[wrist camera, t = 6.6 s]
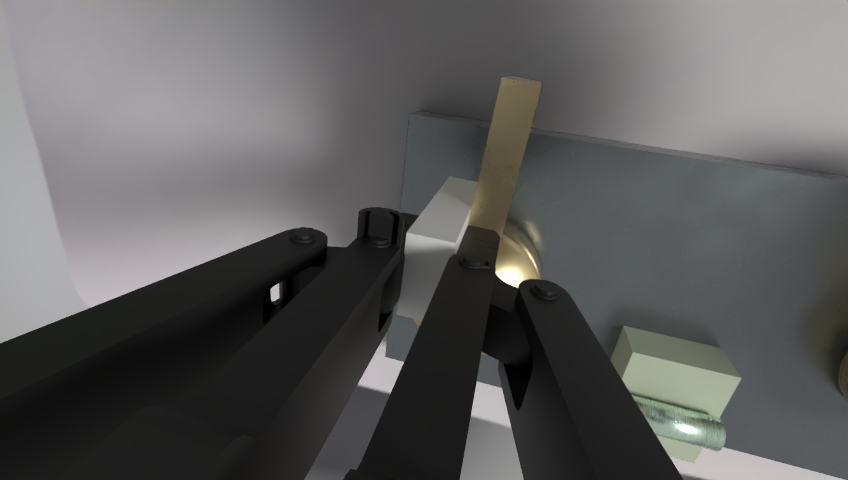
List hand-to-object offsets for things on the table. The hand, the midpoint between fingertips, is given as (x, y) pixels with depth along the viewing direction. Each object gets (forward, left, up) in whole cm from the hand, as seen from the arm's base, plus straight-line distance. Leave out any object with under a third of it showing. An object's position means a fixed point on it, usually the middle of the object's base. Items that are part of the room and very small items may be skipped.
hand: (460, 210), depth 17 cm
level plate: (+12, +5, -7) cm, 15 cm away
